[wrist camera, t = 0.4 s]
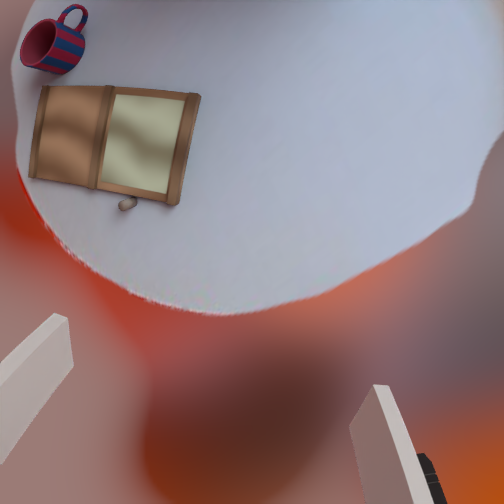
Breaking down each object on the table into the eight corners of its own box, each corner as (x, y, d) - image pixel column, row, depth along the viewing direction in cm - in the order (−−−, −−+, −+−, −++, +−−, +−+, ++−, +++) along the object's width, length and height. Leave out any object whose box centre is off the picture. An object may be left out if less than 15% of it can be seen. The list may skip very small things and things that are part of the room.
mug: (42, 57, 31) (14, 49, 24) (90, 7, 28) (65, -9, 22) (60, 83, 32) (29, 76, 26) (111, 31, 30) (85, 14, 23)
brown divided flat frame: (49, 87, 32) (37, 84, 29) (201, 96, 33) (195, 91, 30) (35, 186, 37) (22, 189, 34) (177, 216, 37) (169, 221, 34)
